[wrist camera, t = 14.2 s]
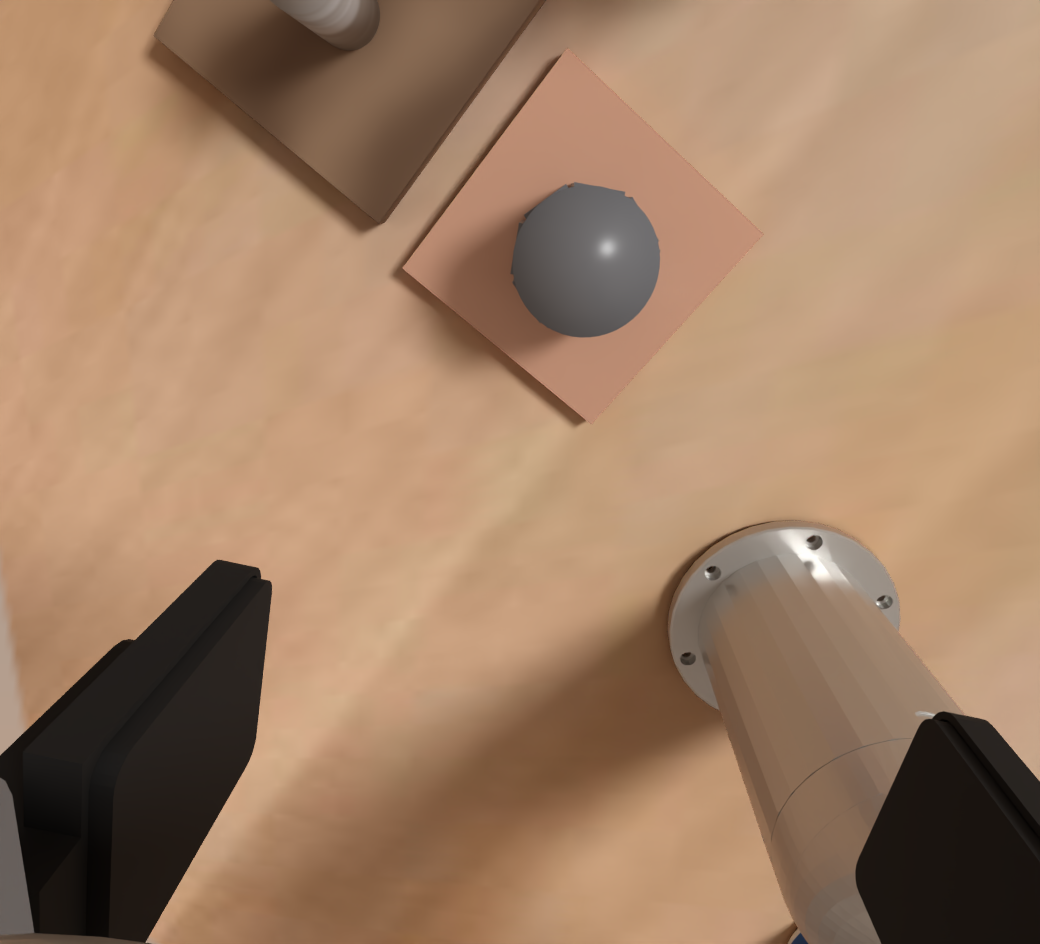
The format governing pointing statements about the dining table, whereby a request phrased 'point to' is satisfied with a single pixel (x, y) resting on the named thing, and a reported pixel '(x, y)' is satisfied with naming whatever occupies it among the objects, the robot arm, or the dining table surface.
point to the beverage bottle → (797, 938)
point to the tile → (564, 160)
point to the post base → (350, 76)
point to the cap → (585, 260)
